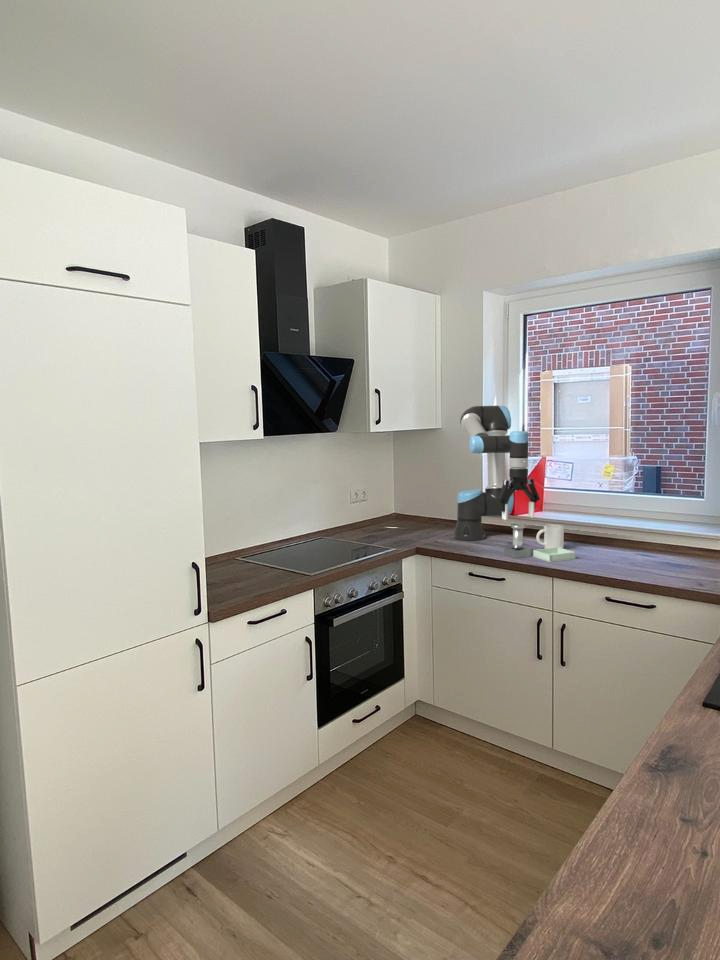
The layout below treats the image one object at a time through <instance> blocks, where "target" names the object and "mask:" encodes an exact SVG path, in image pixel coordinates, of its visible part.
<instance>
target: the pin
mask: <svg viewBox="0 0 720 960" xmlns="http://www.w3.org/2000/svg"><path fill="white" fill-rule="evenodd" d="M510 528H511V529H512V547H513V549H515V550H522V547H524V546H523V545H524V544H523V538H524V536H523V534H524V529H525V528H526V525H525V524H523V523H512V524H511V525H510Z"/></svg>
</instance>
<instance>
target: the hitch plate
mask: <svg viewBox="0 0 720 960" xmlns="http://www.w3.org/2000/svg"><path fill="white" fill-rule="evenodd" d="M504 554H505V555H504ZM503 555H504V556H507V555H508V557H510V558H513V559H521V558H520V557H523V558H530V557H529V556H531V557H532V549H530V548H528V547H525V546H523V547H522V550H515V549H513V546H506V547H503Z"/></svg>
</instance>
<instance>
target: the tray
mask: <svg viewBox="0 0 720 960" xmlns="http://www.w3.org/2000/svg"><path fill="white" fill-rule="evenodd" d="M532 557H533V558H536V559H540V560H542V561H546V562H548V563H555V562H561V561H570V560H576V559H577V552H576V551H573V550H571V549H570V550H569V549H565V548H564V547H563V548H559V547H555V548H546V549H545V548H539V549H533V550H532Z"/></svg>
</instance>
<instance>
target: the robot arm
mask: <svg viewBox="0 0 720 960" xmlns="http://www.w3.org/2000/svg"><path fill="white" fill-rule="evenodd" d="M511 416H512V415H511V412H510V409H509V408H508V407H507V406H505V405H475V406H471V407H469V408H468V409H466V410H465V411H464V412H463V413H462V414H461V416H460V421H459V423H460V426H461V428H462V429H463V431H465V432H466V433H467V435H468V436H469V445H468V446H469V450H470V453H471V454H487V455H486V456H487V459H486V460H487V486H486V487H485V489H484V491H483V490H482V489H480V488H475V489H472V488H471V489H466V490H462V491H460V492H458V493H457V499H456V500H457V501H456V503H457V506H456V507H457V509H456V510H457V512H456V513H457V514H456V515H457V518H456V519H457V521H456V525H455V528H454V531H453V538H454V539H455V540H460V541H481V540H484V539H486V532H485V529H484V526H483V523H482V522H483V521H482V520H483V519H482V517H501V519H502V520H504V521H507V520H508V516H509V515H511V513H512V511H513V508H514V504H515V496H514V493H515V492H516V491H523V492H524V494H525V495H526V497H527V498H528V499H529V501H528V518H535V509H536V506H537V505H536V503H537V502H538V501H540V500H541V498H540V496H539V493H538V491H537V489H536V486H535V482H534V481H535V480H534V479H533V478H528V477H529V469H528V467H529V440H530V439H529V432H528V431H526V430H519V431H518V430H514V431H512V430H511V431H510V432H509V434H508V431H509V430H510V429H511V427H512V418H511ZM507 434H508V435H507ZM506 454H509V459H508V461H509V462H508V463H509V465H508V466H509V472H508V473H509V474H508V475H509V480H507V470H506V468H507V467H506Z"/></svg>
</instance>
